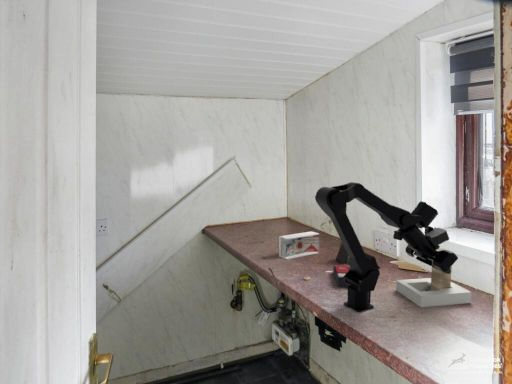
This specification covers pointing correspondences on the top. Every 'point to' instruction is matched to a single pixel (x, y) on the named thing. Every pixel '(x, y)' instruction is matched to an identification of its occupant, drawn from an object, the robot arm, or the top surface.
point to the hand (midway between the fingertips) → (445, 270)
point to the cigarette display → (298, 245)
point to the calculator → (340, 275)
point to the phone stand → (342, 255)
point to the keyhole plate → (432, 293)
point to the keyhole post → (439, 278)
